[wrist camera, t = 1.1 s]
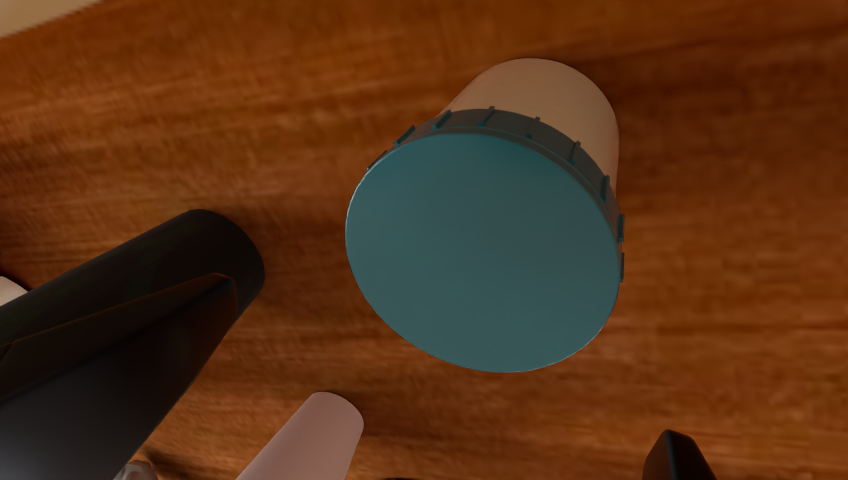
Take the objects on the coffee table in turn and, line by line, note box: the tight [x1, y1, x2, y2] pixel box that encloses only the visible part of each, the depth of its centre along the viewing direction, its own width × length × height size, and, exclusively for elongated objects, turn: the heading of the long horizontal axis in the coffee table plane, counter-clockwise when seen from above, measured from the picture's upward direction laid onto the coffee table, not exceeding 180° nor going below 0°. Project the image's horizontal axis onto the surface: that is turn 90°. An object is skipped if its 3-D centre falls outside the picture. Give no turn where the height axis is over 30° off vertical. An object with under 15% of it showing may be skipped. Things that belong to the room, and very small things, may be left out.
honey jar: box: [438, 58, 619, 194], centre depth 15 cm, size 6×6×7 cm
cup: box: [0, 210, 265, 346], centre depth 22 cm, size 8×8×12 cm
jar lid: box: [345, 106, 625, 372], centre depth 13 cm, size 7×7×2 cm
